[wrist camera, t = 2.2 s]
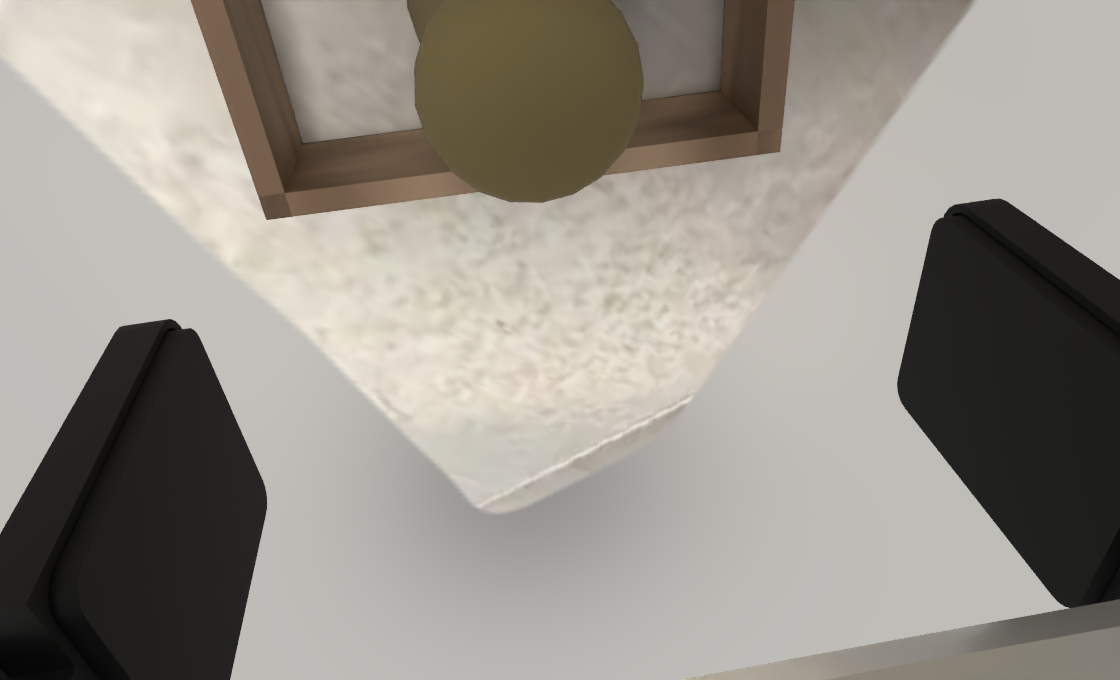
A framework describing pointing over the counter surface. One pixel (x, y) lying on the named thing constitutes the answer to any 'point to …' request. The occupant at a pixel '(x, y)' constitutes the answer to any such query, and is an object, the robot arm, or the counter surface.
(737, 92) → the wooden u-shaped frame
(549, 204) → the counter surface
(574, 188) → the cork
